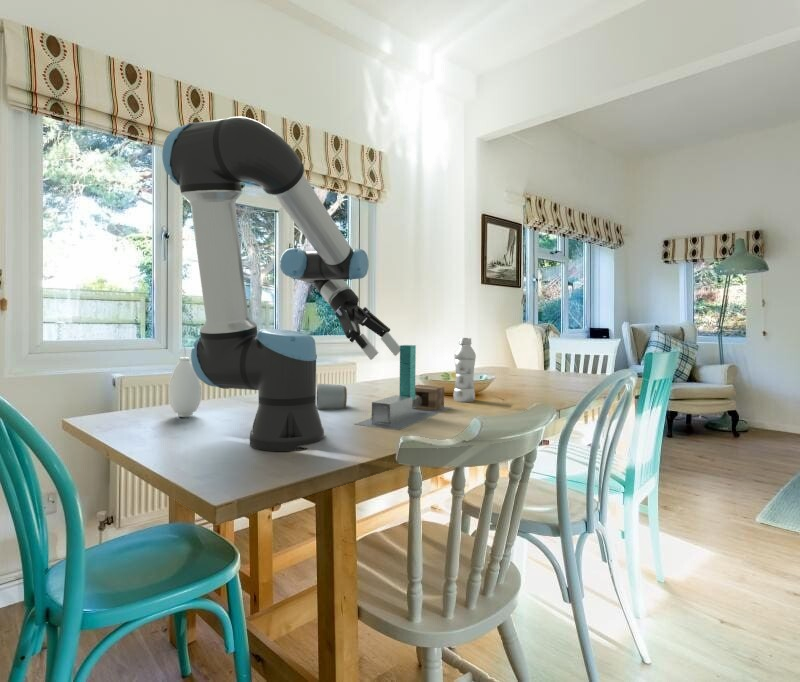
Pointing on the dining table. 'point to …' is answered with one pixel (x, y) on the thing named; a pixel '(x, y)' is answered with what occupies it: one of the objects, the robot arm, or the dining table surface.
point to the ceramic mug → (331, 396)
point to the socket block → (430, 397)
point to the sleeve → (391, 410)
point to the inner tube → (408, 373)
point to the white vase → (184, 388)
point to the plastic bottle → (464, 371)
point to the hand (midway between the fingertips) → (387, 354)
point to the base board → (416, 417)
